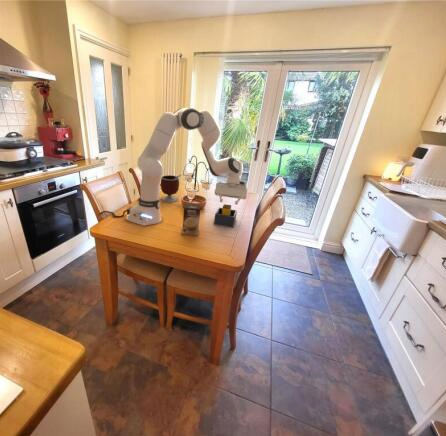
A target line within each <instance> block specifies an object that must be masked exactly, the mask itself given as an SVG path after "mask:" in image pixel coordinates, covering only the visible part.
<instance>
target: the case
mask: <svg viewBox="0 0 446 436" xmlns="http://www.w3.org/2000/svg"><path fill="white" fill-rule="evenodd" d="M222 209H223V207H218V208H217V210H216V212H215V213H214V222H213V224H214V225H218V226H222V227H228V228H234V226H235V223H236V220H237V213H238V210H237V209H232V208H231V212H230V216H227V215H222Z"/></svg>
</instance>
